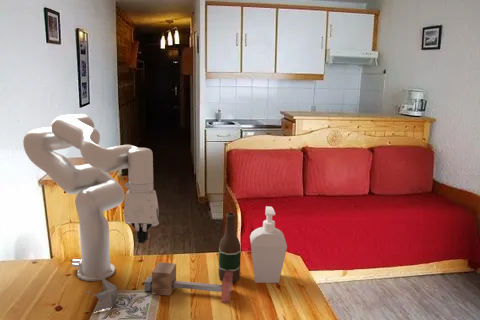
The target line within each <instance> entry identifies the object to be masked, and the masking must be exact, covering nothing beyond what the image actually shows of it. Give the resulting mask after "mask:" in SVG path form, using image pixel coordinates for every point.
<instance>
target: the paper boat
mask: <svg viewBox="0 0 480 320" xmlns="http://www.w3.org/2000/svg"><path fill="white" fill-rule="evenodd" d="M101 281H102V287H103V290H101V291H100V292H97V293H95V294H94V293H91V290H89V291H87V293H86V294H88V295H94V296H95V298H97V299H98V301H99V304H98V305H97V307H96V308H95V309H94V310H93V311H92V313H91V315H94V314H93V313H94V312H96V311H99V310H102V309H106V308H111V307H112V306H113V307H114V306H115V304H116V302H117V300H118V287H117V286H116V285H115V284H113V283H111V282H110V281H109V280H107V279H104V278H102V280H101Z"/></svg>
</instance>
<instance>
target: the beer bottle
mask: <svg viewBox="0 0 480 320" xmlns="http://www.w3.org/2000/svg"><path fill="white" fill-rule="evenodd" d="M225 218H226V220H225V230H224V235H223V237H221V239H220V241H219V247H218V277H219V281H220V282H222V280H223V277H224V274H225V271H226V270H230V271H233V279H232V283H235V282H237V281H238V280H239V279H240V278H241V277H240V275H241V259H242V258H241V257H242V255H241V253H242V250H241V249H242V247H241V246H242V245H241V242H240V240H239V238H238V236H237V232H236V231H237V228H236V227H237V226H236V218H237V215H236V213H234V212H227V213H226V215H225Z"/></svg>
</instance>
